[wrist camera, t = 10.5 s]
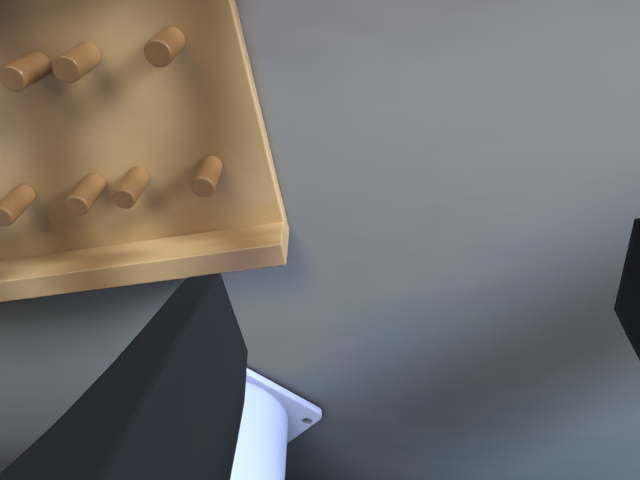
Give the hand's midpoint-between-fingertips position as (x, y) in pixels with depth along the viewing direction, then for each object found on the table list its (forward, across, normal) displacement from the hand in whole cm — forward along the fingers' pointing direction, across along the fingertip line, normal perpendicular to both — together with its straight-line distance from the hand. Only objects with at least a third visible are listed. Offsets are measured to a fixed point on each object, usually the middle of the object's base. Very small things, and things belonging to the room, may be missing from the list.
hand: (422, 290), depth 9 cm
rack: (+10, +12, -1) cm, 16 cm away
